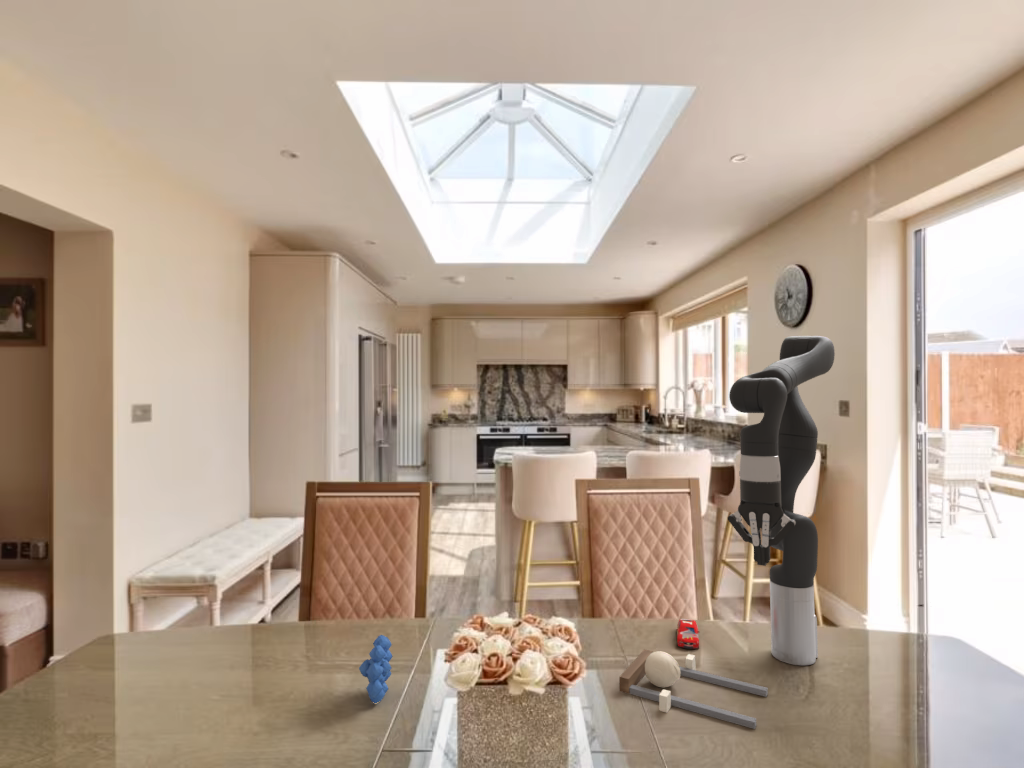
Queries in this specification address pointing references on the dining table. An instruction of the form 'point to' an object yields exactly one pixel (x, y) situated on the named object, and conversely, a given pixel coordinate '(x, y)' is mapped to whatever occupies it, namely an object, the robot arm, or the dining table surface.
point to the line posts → (666, 695)
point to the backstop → (634, 672)
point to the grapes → (377, 668)
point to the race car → (687, 634)
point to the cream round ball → (662, 669)
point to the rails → (704, 708)
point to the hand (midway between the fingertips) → (762, 564)
